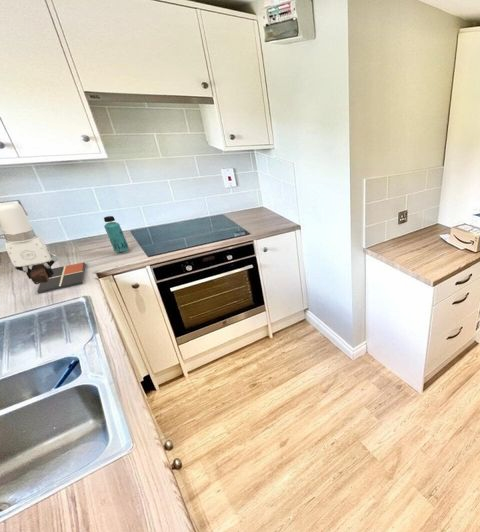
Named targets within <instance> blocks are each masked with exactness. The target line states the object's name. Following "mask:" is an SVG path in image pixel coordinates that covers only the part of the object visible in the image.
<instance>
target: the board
mask: <svg viewBox="0 0 480 532" xmlns="http://www.w3.org/2000/svg"><path fill="white" fill-rule="evenodd" d="M85 268H86V263H85V262H84V261H82V262H79V263H73V264H67V265H63V266H58V267H53V268H52V270H53V272H54V274H53V275H52V278H49V280H48V282H46V283H39V284H38V285H39V286H38V288H37V291H36V292H37V294H42V293H48V292H52V291H57V290H62V289H66V288H70V287H71V288H72V287H74V286H79V285H83V283H84V276H85V270H86V269H85Z"/></svg>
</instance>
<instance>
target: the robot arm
mask: <svg viewBox="0 0 480 532" xmlns="http://www.w3.org/2000/svg"><path fill="white" fill-rule="evenodd" d="M0 230H1V232H2V234H0V240H5V241H4V246H5V250H6V252H7V255H8V257H9V262H8V265H7V268H9V269H13V270H17V271H21V272H23V273H25V274H26V276H27V278H28V279H29V280H31V281H32V279H31V276H30V273H31V269H32V268H30V266H33V265H36V264H43V265H44V266H45V270H46V273H47V275H48V276H49V278H52V275H53V274H54V272H53V270H52V269H53V268H52V266H53V265H54V264H55V263H56V262H57V261H59V260H60V256H59V255H56V254H55V253H53V252H51V251H50V249H49V248H48V246H47V244H46V243H45V241H43V239H42V238H41V237H40V236H39V235H37V234H36V232H35V230H34V227H33V226H32V224H31V222H30V220H29V217H28V215H27V214H26V212H25V210H24V208H23V206H22V205H21V203H18V202H14V201H9V202H8V201H7V202H0Z"/></svg>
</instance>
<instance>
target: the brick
mask: <svg viewBox="0 0 480 532" xmlns="http://www.w3.org/2000/svg"><path fill="white" fill-rule="evenodd" d="M30 269H31V273H30V276H31V279H32V280H31V279H30V280H31V282H33V284H34V285H40V283H46V282H48V280H49V276H48V275H47V273H46V270H45V266H44V265H43V264H42V263H40V264H34V265H31V268H30Z"/></svg>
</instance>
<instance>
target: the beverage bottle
mask: <svg viewBox="0 0 480 532" xmlns="http://www.w3.org/2000/svg"><path fill="white" fill-rule="evenodd" d="M103 220H104V222H105V224H104V226H103V228H104V229H105V232H106V234H107V236H108V238H109V242H110V244H111V247H112V249H113V251H114V252H115V253H123V252H126V251H128V250H129V243H128V242H127V240H126V237H125V235H124V231H123V230H122V228H121V223H119V222H117V221H116V218H115V217H114V216H113V215H108V216H104V217H103Z"/></svg>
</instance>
